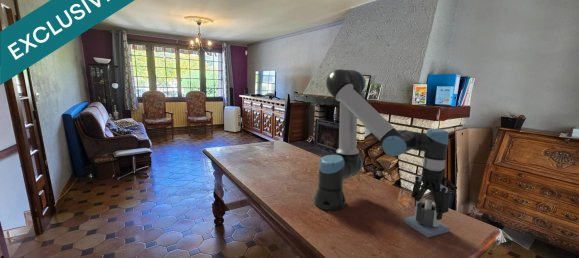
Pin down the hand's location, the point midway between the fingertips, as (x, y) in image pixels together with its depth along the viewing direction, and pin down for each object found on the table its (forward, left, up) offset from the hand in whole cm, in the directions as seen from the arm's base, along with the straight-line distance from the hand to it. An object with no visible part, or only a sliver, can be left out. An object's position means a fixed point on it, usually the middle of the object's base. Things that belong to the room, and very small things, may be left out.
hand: (426, 220), depth 103 cm
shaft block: (0, 0, -3) cm, 3 cm away
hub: (0, 0, 0) cm, 0 cm away
